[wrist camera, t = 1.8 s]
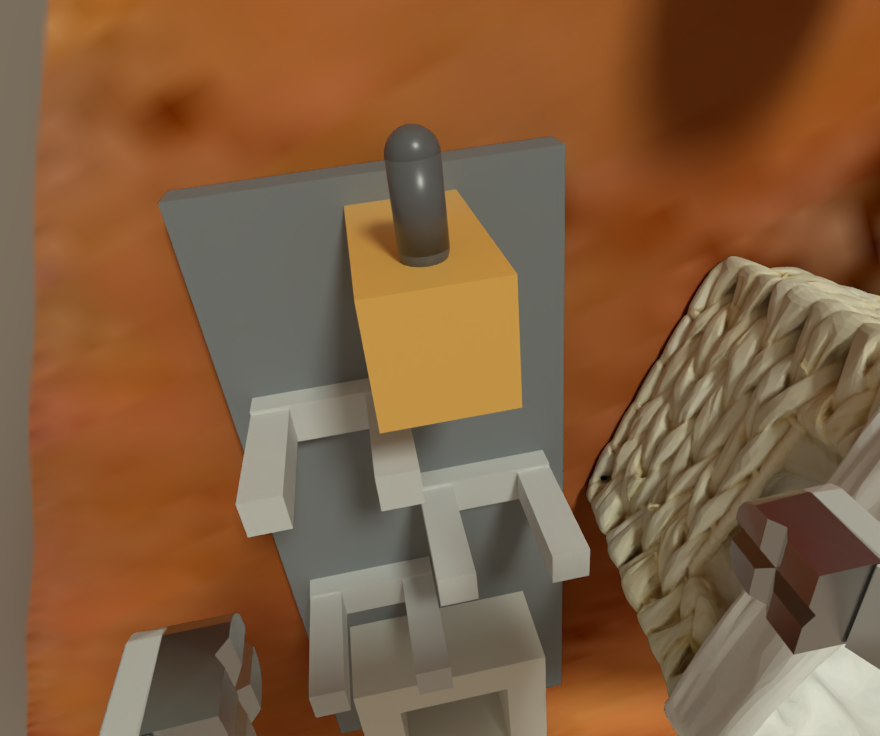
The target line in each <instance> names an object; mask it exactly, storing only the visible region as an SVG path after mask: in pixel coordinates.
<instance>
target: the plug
mask: <svg viewBox="0 0 880 736" xmlns="http://www.w3.org/2000/svg"><path fill="white" fill-rule="evenodd" d="M384 160H385V167H386V174H387V181H388V188H389V195H390V199H387V200H381V201H374V202H367V203H360V204H354V205H347V206H344V213H345V222H346V231H347V240H348V249H349V258H350V267H351V276H352V285H353V294H354V302H355V307H356V312H357V318H358V323H359V328H360V333H361V338H362V344H363V349H364V354H365V359H366V364H367V370H368V375H369V380H370V385H371V390H372V396H373V401H374V406H375V411H376V416H377V422H378V427H379V432H380V433H386V432H391V431H397V430H402V429H408V428H413V427H419V426H424V425H430V424H435V423H440V422H446V421H451V420H457V419H462V418H468V417H473V416H479V415H484V414H490V413H495V412H501V411H506V410H512V409H517V408H522V385H521V358H520V330H519V303H518V276H517V273H516V272H515V270H514V269H513V267H512V266H511V265H510V263H509V262H508V260H507V259H506V258H505V256H504V255H503V254H502V252H501V251H500V249H499V248H498V247H497V245H496V244H495V242H494V241H493V240H492V238H491V237H490V236H489V234H488V233H487V231H486V230H485V229H484V227H483V226H482V224H481V223H480V222H479V220H478V219H477V217H476V216H475V215H474V213H473V212H472V211H471V209H470V208H469V206H468V205H467V204H466V202H465V201H464V199H463V198H462V197H461V195H460V194H459V193H458V191H457V190H456V189H455V190H448V191H445V189H444V179H443V168H442V158H441V150H440V145H439V143H438V140H437V138H436V137H435V135H434V134H433V133H432V132H431V131H430V130H428V129H427V128H425V127H424V126H421V125H418V124H406V125H403V126H400V127H398V128H397V129H396V130H394V131H393V132H392V133H391V134H390V136H389V137H388V139H387V141H386V144H385V148H384Z"/></svg>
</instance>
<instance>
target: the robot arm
mask: <svg viewBox="0 0 880 736" xmlns="http://www.w3.org/2000/svg"><path fill="white" fill-rule="evenodd" d="M736 520H737V522H738V523H739V524H740V525H741V527H742V528H741V529H740V530H739V531H738V532H737V533H736V535H735V536H734V537H733V538H732V540H731V546H730V553H729V554H730V558H731V563H732V567H733V570H734V572H735V574H736V576H737V578H738V581H739V582H740V584H741V585H742V587H743V588H744V589H745V591H746V592H747V593H748V595H749V596H751V597H753V598H755V599H757V600H759V601H760V602H762V603H764V604H766V619H767V620H768V622H769V623H770V624H771V626H772V627H773V628H774V630H775V631H776V632H777V634H778V635H779V636H780V637H781V639H782V640H783V641H784V643H785V644H786V645H787V647H788V648H789V649H790V651H791V652H792V653H793V655H795V654H800V653H804V652H809V651H814V650H818V649H823V648H827V647H832V646H837V645H841V644H845V648H847V649H849V650H850V651H852V652H853V653H855V654H856V655H858V656H859V657H861V658H862V659H864V660H866V661H867V662H869V663H870V664H872V665H873V666H875V667H876V668H878V669H880V522H879V521H878V520H876V519H875V518H874V517H873V516H872V515H871V514H870V513H869V512H867V511H866V510H865V509H864V508H863V507H862V506H861V505H860V504H859V503H857V502H856V501H855V500H854V499H853V498H852V497H851V496H850V495H849V494H847V493H846V492H845V491H844V490H843V489H842V488H840V487H839V486H836V485H834V484H832V483H829V484H824V485H819V486H815V487H810V488H806V489H801V490H794V491H790V492H785V493H781V494H777V495H772V496H768V497H764V498H759V499H755V500H751V501H746V502H744V503H743V504H742V505H741V506H740V507H739V508H738V512H737V516H736ZM245 628H246V627H245V625H244V622H243V620H242V618H241V616H240V614H239V613H235V614H229V615H224V616H219V617H214V618H208V619H203V620H198V621H193V622H187V623H182V624H177V625H171V626H167V627H162V628H157V629H153V630H148V631H143V632H138V633H133V634H132V636H131V637H130V639H129V640H128V642H127V643H126V645H125V648H124V651H123V654H122V658H121V661H120V665H119V668H118V671H117V675H116V678H115V682H114V685H113V688H112V692H111V695H110V699H109V702H108V705H107V709H106V712H105V716H104V719H103V722H102V726H101V729H100V733H99V736H257V734H256V732H255V730H254V728H253V725H252V722H253V720H254V719H255V717H256V716H257V714H258V713H259V711H260V710H261V700H262V682H261V669H260V665H259V660H258V656H257V653H256V651H255V648H254V646H253V645H252V644H250V643H248V642H246V641H244V639H245Z"/></svg>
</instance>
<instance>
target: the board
mask: <svg viewBox="0 0 880 736" xmlns="http://www.w3.org/2000/svg"><path fill="white" fill-rule="evenodd" d="M441 158H442V168H443V179H444V189H445V191H448V190H455V189H456V190H457V191H458V193H459V194H460V195H461V197H462V198H463V199H464V201H465V202H466V204H467V205H468V206H469V208H470V209H471V211H472V212H473V213H474V215H475V216H476V217H477V219H478V220H479V222H480V223H481V224H482V226H483V227H484V229H485V230H486V231H487V233H488V234H489V236H490V237H491V238H492V240H493V241H494V242H495V244H496V245H497V247H498V248H499V249H500V251H501V252H502V254H503V255H504V256H505V258H506V259H507V260H508V262H509V263H510V265H511V266H512V267H513V269H514V270H515V272H516V273H517V276H518V303H519V330H520V358H521V385H522V408H517V409H512V410H506V411H501V412H495V413H490V414H484V415H479V416H473V417H468V418H462V419H457V420H451V421H446V422H440V423H435V424H430V425H424V426H419V427H413V428H408V429H402V430H397V431H391V432H386V433H380V432H379V427H378V422H377V416H376V411H375V406H374V401H373V396H372V390H371V385H370V380H369V375H368V370H367V364H366V359H365V354H364V349H363V344H362V338H361V333H360V328H359V323H358V318H357V312H356V307H355V302H354V294H353V285H352V276H351V267H350V258H349V249H348V240H347V231H346V222H345V213H344V206H347V205H354V204H360V203H367V202H374V201H381V200H387V199H390V195H389V188H388V181H387V174H386V167H385V160H383V161H376V162H368V163H361V164H354V165H347V166H340V167H333V168H326V169H319V170H312V171H305V172H298V173H291V174H284V175H277V176H270V177H263V178H256V179H249V180H242V181H235V182H228V183H221V184H214V185H207V186H200V187H193V188H186V189H179V190H172V191H167V192H166V194H165V195H164V196H163V197H162V199H161V200H160V201H159V202H158V205H159V208H160V210H161V213H162V216H163V219H164V222H165V225H166V228H167V231H168V234H169V236H170V239H171V242H172V245H173V248H174V251H175V254H176V257H177V260H178V262H179V265H180V268H181V271H182V274H183V277H184V280H185V283H186V286H187V288H188V291H189V294H190V297H191V300H192V303H193V306H194V309H195V312H196V314H197V317H198V320H199V323H200V326H201V329H202V332H203V335H204V338H205V340H206V343H207V346H208V349H209V352H210V355H211V358H212V361H213V364H214V366H215V369H216V372H217V375H218V378H219V381H220V384H221V387H222V390H223V393H224V395H225V398H226V401H227V404H228V407H229V410H230V413H231V416H232V419H233V421H234V424H235V427H236V430H237V433H238V436H239V439H240V442H241V445H242V447H243V450H244V458H243V464H242V470H241V476H240V481H239V487H238V493H237V499H236V507H237V510H238V512H239V515H240V518H241V520H242V523H243V526H244V528H245V531H246V534H247V536H248V537H253V536H258V535H263V534H268V533H272V534H273V537H274V540H275V543H276V546H277V549H278V551H279V554H280V557H281V560H282V563H283V566H284V569H285V572H286V575H287V577H288V580H289V583H290V586H291V589H292V592H293V595H294V598H295V601H296V603H297V606H298V609H299V612H300V615H301V618H302V621H303V624H304V627H305V630H306V632H307V635H308V638H309V641H310V647H309V701H310V703H311V706H312V709H313V711H314V714H315V716H316V718H318V717H322V716H327V715H331V714H335V716H336V719H337V722H338V725H339V728H340V731H341V734H343V733H348V732H352V731H357V730H361V729H363V732H364V736H547V727H546V688H548V687H553V686H557V685H562V581H565V580H570V579H575V578H579V577H584V576H589V569H590V548H589V546H588V544H587V542H586V540H585V538H584V536H583V534H582V531H581V529H580V527H579V525H578V523H577V521H576V519H575V517H574V515H573V513H572V511H571V509H570V507H569V505H568V503H567V501H566V499H565V497H564V495H563V401H564V249H565V144H564V143H562V142H560V141H559V140H557V139H555V138H554V137H552V136H551V137H544V138H537V139H530V140H523V141H516V142H509V143H502V144H495V145H488V146H481V147H474V148H467V149H460V150H453V151H446V152H441Z"/></svg>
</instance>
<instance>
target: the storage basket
mask: <svg viewBox="0 0 880 736" xmlns="http://www.w3.org/2000/svg"><path fill="white" fill-rule="evenodd" d="M602 476H607V479H606V480H601V477H602ZM829 483H832V484H834V485H836V486H839V487H840V488H842V489H843V490H844V491H845V492H846V493H847V494H849V495H850V496H851V497H852V498H853V499H854V500H855V501H856V502H857V503H859V504H860V505H861V506H862V507H863V508H864V509H865V510H866V511H867V512H869V513H870V514H871V515H872V516H873V517H874V518H875V519H876V520H878V521H879V522H880V296H878V295H874V294H869V293H866V292H864V291H861V290H858V289H856V288H853V287H847V286H843V285H838V284H836V283H835V282H833V281H830V280H828V279H825V278H822V277H819V276H815V275H813V274H811V273H809V272H807V271H805V270H802V269H799V268H796V267H775V268H770V269H769V268H767V267H765V266H762V265H760V264H757V263H755V262H752V261H750V260H747V259H743V258H740V257H737V256H732V257H729V258H727V259H726V260H724V261H723V262H721V263H720V264H718V265H717V266H716V267H715V268H714V269H712V270H711V272H710V273H709V274H708V276H707V277H706V278H705V280H704V281H703V283H702V285H701V286H700V288H699V289H698V291H697V292H696V294H695V296H694V298H693V300H692V302H691V303H690V305H689V308H688V312H687V314H686V315H685V316H684V317H683V318H682V320H681V321H680V322H679V324H678V326H677V327H676V329H675V330H674V332H673V334H672V336H671V337H670V339H669V341H668V342H667V344H666V347H665V349H664V351H663V353H662V355H661V357H660V358H659V359H658V360H657V361H656V362H655V364H654V365H653V367H652V368H651V370H650V372H649V374H648V375H647V377H646V379H645V381H644V382H643V384H642V386H641V388H640V390H639V392H638V394H637V396H636V398H635V400H634V402H633V403H632V404H631V405H630V407H629V408H628V410H627V411H626V413H625V414H624V416H623V418H622V420H621V422H620V424H619V426H618V428H617V430H616V432H615V435H614V437H613V439H612V440H611V442H609V443H608V444H607V445H606V446H605V448H604V449H603V451H602V453H601V455H600V456H599V459H598V461H597V464H596V466H595V469H594V472H593V474H592V477H591V478H590V480H589V483H588V488H587V491H586V496H587V499H588V501H589V502H590V503H591V507H592V510H593V513H594V515H595V518H596V522H597V524H598V527H599V529H600V531H601V532H602V533H603V534H605V535H606V541H607V544H608V548H607V549H608V554H609V556H610V558H611V560H612V562H613V563H614V564H615V566H616V567H617V568H618V569H619V573H620V577H621V585H622V589H623V592H624V594H625V597H626V599H627V600H628V602H629V604H630V605H631V606H632V607H633V609H634V610H635V611H636V612H638V614H637V619H638V621H639V624H640V626H641V628H642V630H643V632H644V633H645V635H646V636H648V641H649V644H650V648H651V651H652V653H653V655H654V656H655V658H656V660H657V661H658V662H659V663H660V666H661V670H662V674H663V677H664V679H665V681H666V684H667V691H668V695H669V699H668V700H667V701H666V702H665V707H664V711H665V714H666V717H667V718H668V719H669V721H670V723H671V725H672V727H673V729H674V730H675V731H676V733H677V734H678V735H679V736H880V669H878V668H876V667H875V666H873V665H872V664H870V663H869V662H867V661H866V660H864V659H862V658H861V657H859V656H858V655H856V654H855V653H853V652H852V651H850V650H849V649H847V648H845V644H841V645H837V646H832V647H827V648H823V649H818V650H814V651H809V652H804V653H800V654H795V655H793V653H792V652H791V651H790V649H789V648H788V647H787V645H786V644H785V643H784V641H783V640H782V639H781V637H780V636H779V635H778V634H777V632H776V631H775V630H774V628H773V627H772V626H771V624H770V623H769V622H768V620H767V619H766V604H764V603H762V602H760V601H759V600H757V599H755V598H753V597H751V596H749V595H748V593H747V592H746V591H745V589H744V588H743V587H742V585H741V584H740V582H739V581H738V578H737V576H736V574H735V572H734V570H733V567H732V563H731V558H730V554H729V553H730V546H731V540H732V538H733V537H734V536H735V535H736V533H737V532H738V531H739V530H740V529H741V528H742V527H741V525H740V524H739V523H738V522H737V520H736V516H737V512H738V508H739V507H740V506H741V505H742V504H743V503H744V502H746V501H751V500H755V499H759V498H764V497H768V496H772V495H777V494H781V493H785V492H790V491H794V490H801V489H806V488H810V487H815V486H819V485H824V484H829Z"/></svg>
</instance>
